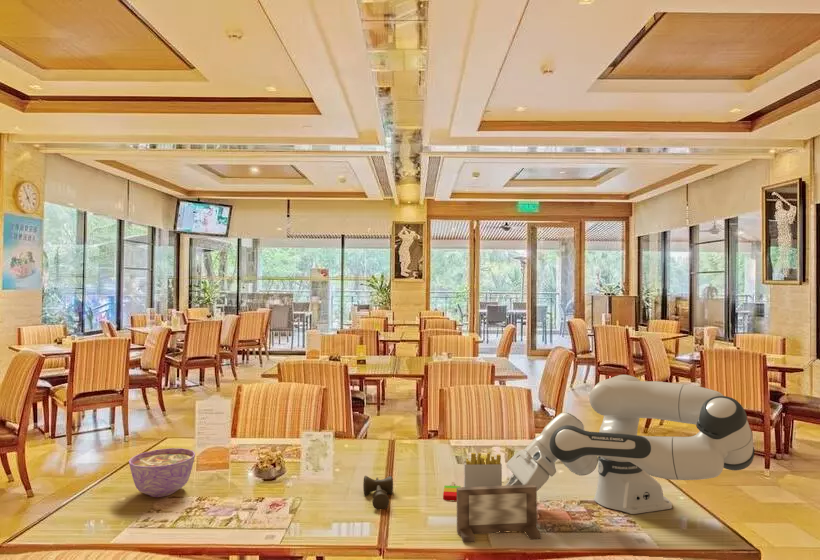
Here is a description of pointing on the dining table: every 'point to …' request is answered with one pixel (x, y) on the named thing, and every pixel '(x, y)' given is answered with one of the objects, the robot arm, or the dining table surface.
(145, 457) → the bowl of food
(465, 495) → the menu board
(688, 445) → the robot arm
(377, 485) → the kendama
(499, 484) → the french fries container
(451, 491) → the popsicle
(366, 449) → the dining table surface
